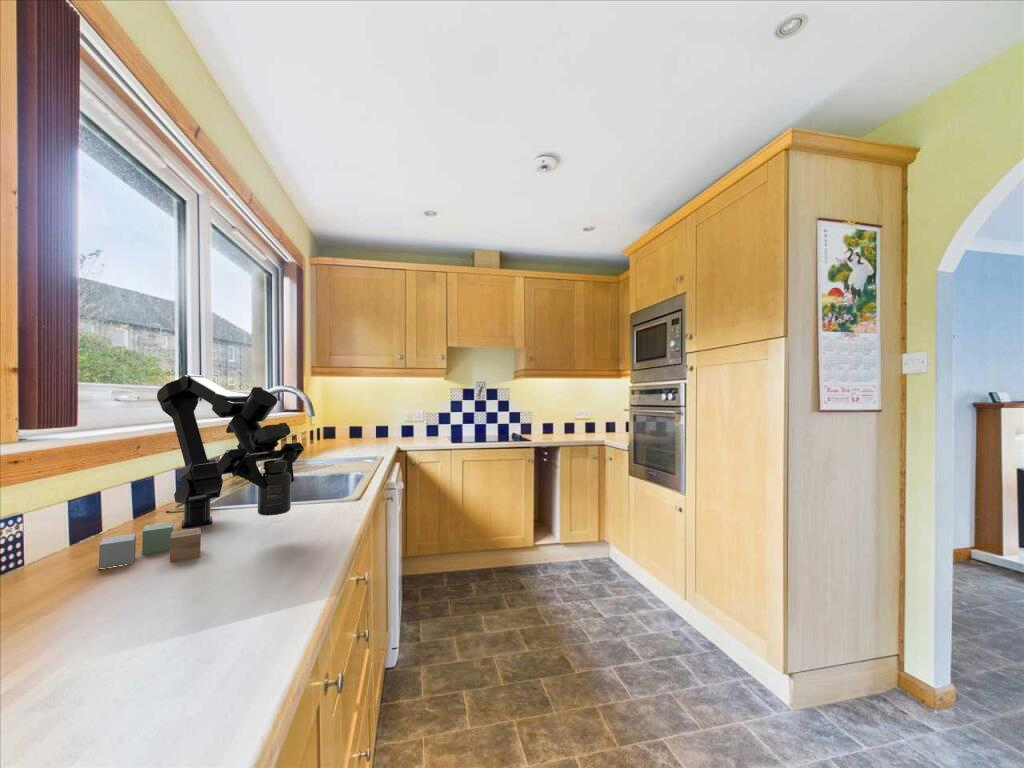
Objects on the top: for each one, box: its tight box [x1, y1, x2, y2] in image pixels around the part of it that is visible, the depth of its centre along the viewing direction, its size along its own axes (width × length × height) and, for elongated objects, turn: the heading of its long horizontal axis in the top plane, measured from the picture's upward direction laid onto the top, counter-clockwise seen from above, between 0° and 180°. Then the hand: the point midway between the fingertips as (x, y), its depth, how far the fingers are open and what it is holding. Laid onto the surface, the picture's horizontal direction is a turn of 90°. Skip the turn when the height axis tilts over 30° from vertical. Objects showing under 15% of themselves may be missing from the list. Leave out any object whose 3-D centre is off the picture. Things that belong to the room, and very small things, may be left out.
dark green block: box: [141, 521, 174, 555], centre depth 95 cm, size 5×5×5 cm
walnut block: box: [169, 527, 202, 563], centre depth 91 cm, size 5×5×5 cm
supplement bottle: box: [257, 459, 292, 516], centre depth 101 cm, size 7×7×12 cm
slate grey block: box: [98, 533, 137, 569], centre depth 87 cm, size 5×5×5 cm
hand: (279, 484), depth 100 cm, fingers closed on supplement bottle, 7 cm apart
